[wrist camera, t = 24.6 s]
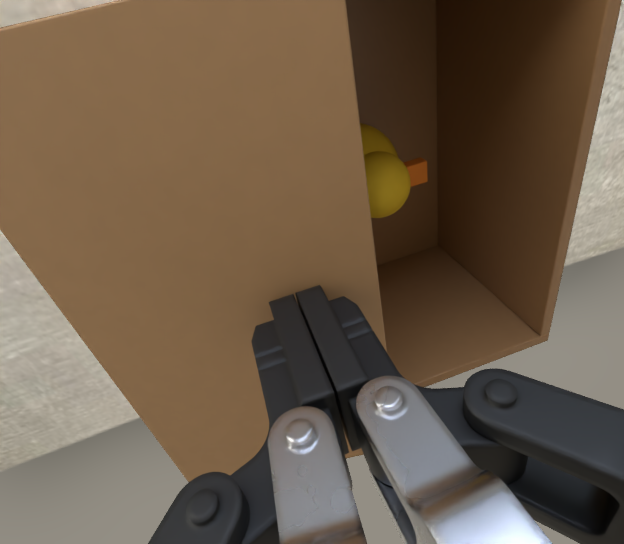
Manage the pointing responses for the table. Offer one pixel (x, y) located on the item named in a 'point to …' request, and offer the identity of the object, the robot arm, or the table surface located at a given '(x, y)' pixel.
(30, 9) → the table surface
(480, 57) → the carton
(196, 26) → the flap
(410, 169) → the duck
